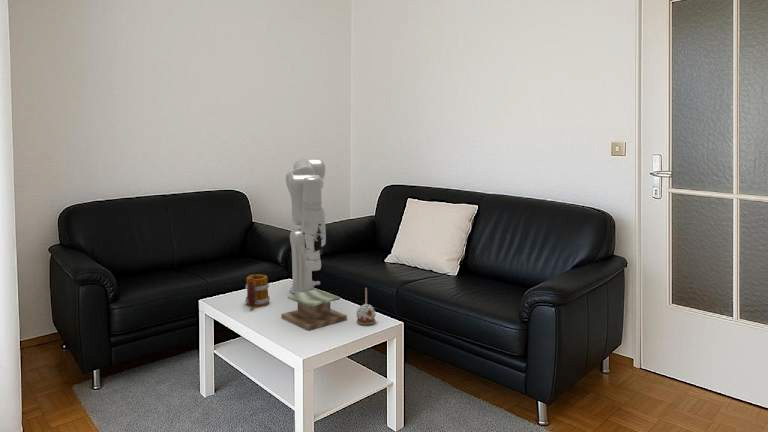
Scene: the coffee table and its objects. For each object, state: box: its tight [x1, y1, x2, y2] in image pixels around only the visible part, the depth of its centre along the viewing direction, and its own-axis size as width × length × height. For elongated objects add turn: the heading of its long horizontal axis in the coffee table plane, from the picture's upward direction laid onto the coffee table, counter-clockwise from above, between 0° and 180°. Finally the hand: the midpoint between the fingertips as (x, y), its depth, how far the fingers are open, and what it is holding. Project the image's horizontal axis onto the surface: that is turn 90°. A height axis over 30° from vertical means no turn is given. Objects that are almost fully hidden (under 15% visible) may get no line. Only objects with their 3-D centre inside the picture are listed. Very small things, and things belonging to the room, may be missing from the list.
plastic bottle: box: [305, 232, 322, 272], centre depth 253 cm, size 6×7×20 cm
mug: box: [244, 274, 271, 309], centre depth 275 cm, size 11×16×15 cm, turn 174°
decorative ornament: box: [356, 287, 376, 326], centre depth 253 cm, size 8×8×15 cm
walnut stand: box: [281, 288, 348, 331], centre depth 257 cm, size 20×20×10 cm
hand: (313, 248), depth 253 cm, fingers closed on plastic bottle, 6 cm apart
